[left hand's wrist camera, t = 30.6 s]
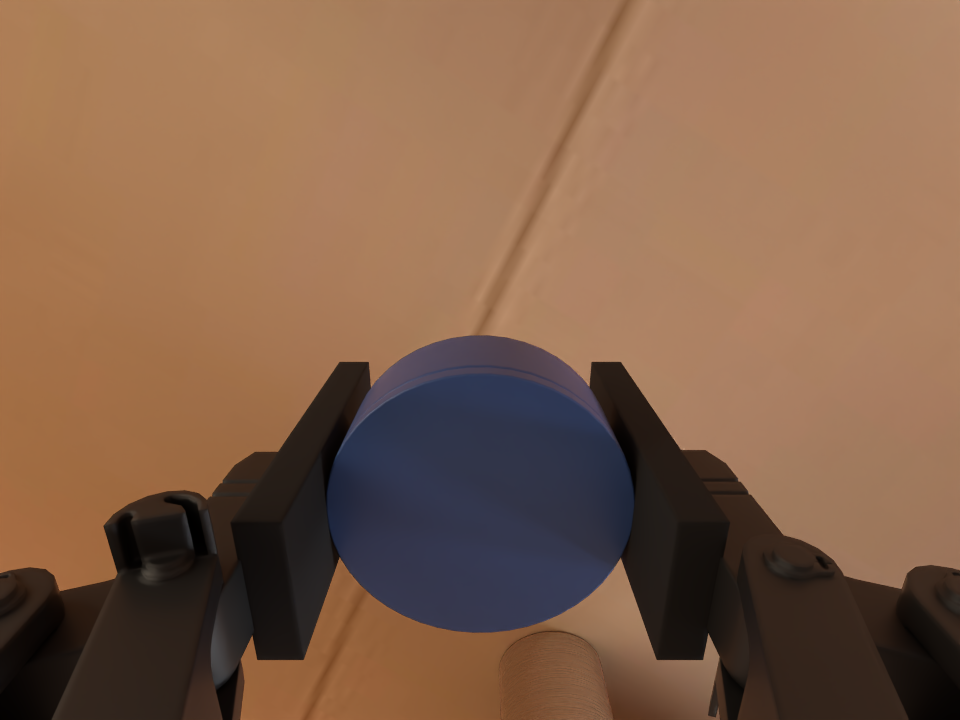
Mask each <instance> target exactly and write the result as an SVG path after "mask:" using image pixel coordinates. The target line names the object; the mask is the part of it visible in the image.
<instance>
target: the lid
mask: <svg viewBox="0 0 960 720" xmlns="http://www.w3.org/2000/svg"><path fill="white" fill-rule="evenodd" d="M634 503H635V494H634V485H633V480H632V476H631V471H630V469H629V466H628V463H627V461H626V458H625V455H624V453H623V451H622V449H621V447H620V445H619V443H618V441H617V439H616V437H615V435H614V432H613V430H612V428H611V426H610V424H609V422H608V420H607V418H606V416H605V414H604V412H603V410H602V408H601V406H600V404H599V402H598V400H597V398H596V397H595V395H594V393H593V391H592V390H591V389H590V388H589V386H588V385H587V384H586V382H585V381H584V380H583V379H582V378H581V377H580V376H579V375H578V374H577V373H576V372H575V371H574V370H573V369H572V368H571V367H570V366H568V365H567V364H566V363H564V362H563V361H562V360H560V359H559V358H557V357H556V356H554V355H552V354H550V353H548V352H547V351H545V350H543V349H541V348H539V347H536V346H533V345H531V344H528V343H526V342H522V341H518V340H514V339H510V338H505V337H496V336H464V337H457V338H450V339H447V340H443V341H439V342H435V343H432V344H430V345H427V346H425V347H423V348H420V349H418V350H416V351H414V352H412V353H410V354H409V355H407V356H405V357H403V358H402V359H400V360H399V361H398V362H397V363H395V364H394V365H393V366H391V367H390V368H389V369H388V370H387V371H386V372H385V373H384V374H383V375H382V376H381V377H380V378H379V379H378V380H377V381H376V382H375V383H374V385H373V386H372V387H371V389H370V390H369V392H368V393H367V394H366V396H365V398H364V400H363V402H362V404H361V406H360V407H359V409H358V412H357V414H356V416H355V418H354V420H353V422H352V424H351V426H350V428H349V430H348V432H347V434H346V436H345V438H344V440H343V443H342V445H341V447H340V449H339V451H338V453H337V455H336V457H335V460H334V463H333V465H332V468H331V471H330V474H329V479H328V485H327V490H326V508H327V516H328V524H329V530H330V533H331V537H332V540H333V543H334V545H335V547H336V550H337V552H338V554H339V556H340V558H341V560H342V561H343V563H344V564H345V566H346V567H347V569H348V570H349V572H350V573H351V574H352V575H353V577H354V578H355V579H356V580H357V581H358V583H359V584H360V585H361V586H362V587H363V588H364V589H366V590H367V591H368V592H369V593H370V594H371V595H372V596H373V597H375V598H376V599H377V600H379V601H380V602H382V603H383V604H384V605H386V606H387V607H389V608H391V609H393V610H394V611H396V612H398V613H400V614H402V615H404V616H406V617H408V618H411V619H413V620H415V621H418V622H420V623H424V624H427V625H430V626H434V627H437V628H442V629H447V630H453V631H461V632H472V633H479V632H499V631H509V630H514V629H518V628H523V627H528V626H531V625H534V624H537V623H540V622H543V621H546V620H548V619H550V618H553V617H555V616H557V615H559V614H561V613H563V612H565V611H567V610H568V609H570V608H572V607H573V606H575V605H577V604H578V603H579V602H581V601H582V600H583V599H585V598H586V597H587V596H589V595H590V594H591V593H592V592H593V591H594V590H595V589H596V588H597V587H598V586H600V585H601V584H602V583H603V581H604V580H605V579H606V578H607V577H608V575H609V574H610V573H611V572H612V570H613V569H614V567H615V566H616V564H617V562H618V561H619V559H620V558H621V556H622V554H623V552H624V549H625V547H626V545H627V542H628V540H629V537H630V533H631V528H632V520H633V512H634Z"/></svg>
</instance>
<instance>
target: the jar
mask: <svg viewBox="0 0 960 720" xmlns="http://www.w3.org/2000/svg"><path fill="white" fill-rule="evenodd" d="M499 679H500V708H501V720H614V719H613V714H612V710H611V706H610V701H609V697H608V693H607V688H606V684H605V680H604V676H603V671H602V667H601V663H600V659H599V656H598V654H597V653H596V651H595V650H594V649H593V647H592V646H591V645H590V644H589V643H587V642H586V641H584V640H583V639H581V638H579V637H577V636H574V635H572V634H568V633H563V632H541V633H536V634H532V635H529V636H527V637H524V638H522V639H520V640H519V641H517V642H516V643H514V644H513V645H512V646H511V647H510V648H509V649H508V650H507V651H506V652H505V654H504V655H503V657H502V659H501V662H500V667H499Z"/></svg>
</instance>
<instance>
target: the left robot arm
mask: <svg viewBox="0 0 960 720" xmlns="http://www.w3.org/2000/svg"><path fill="white" fill-rule="evenodd" d="M370 389H371V385H370V372H369V362H339V364H338V365H337V367H336V368H335V370H334V371H333V373H332V374H331V375H330V377H329V378H328V380H327V381H326V383H325V384H324V386H323V387H322V389H321V390H320V392H319V393H318V394H317V396H316V397H315V399H314V400H313V402H312V403H311V405H310V406H309V408H308V409H307V411H306V412H305V413H304V415H303V416H302V418H301V419H300V421H299V422H298V424H297V425H296V427H295V428H294V430H293V431H292V432H291V434H290V435H289V437H288V438H287V440H286V441H285V443H284V444H283V446H282V447H281V449H280V450H279V452H254V453H253V454H251V455H250V456H248V457H247V458H245V459H244V460H242V461H241V462H239V463H237V464H236V465H235V466H234V467H233V468H232V469H231V471H230V472H229V473H228V475H227V476H226V477H225V478H224V480H223V483H222V484H220V485H219V486H218V487H217V488H216V490H215V491H214V492H213V495H212V497H209V498H208V500H206V499H205V498H204V497H203V496H201V495H200V494H199V493H195V492H190V491H185V490H184V491H167V492H163V493H159V494H155V495H150V496H147V497H145V498H142V499H140V500H138V501H135V502H133V503H130V504H128V505H127V506H125V507H124V508H122V509H121V510H119V511H118V512H116V513H115V514H113V516H112V517H111V518H110V519H109V520H108V521H107V522H106V524H105V525H104V529H105V533H106V536H107V539H108V543H109V546H110V549H111V553H112V556H113V559H114V563H115V566H116V569H117V573H118V574H117V576H116V578H115V579H112V580H109V581H105V582H101V583H96V584H92V585H87V586H82V587H78V588H73V589H69V590H64V591H59V588H58V586H57V583H56V580H55V577H54V575H52V574H51V573H50V572H48V571H47V570H46V569H39V568H23V569H17V570H10V571H7V572H3V573H0V720H240V716H241V707H242V699H243V690H244V674H243V668H242V663H241V657H242V655H243V653H244V651H245V649H246V647H247V645H248V643H249V641H250V639H251V636H252V635H253V640H254V645H255V650H256V655H257V660H304V657H305V654H306V651H307V649H308V646H309V643H310V640H311V637H312V634H313V632H314V629H315V626H316V623H317V620H318V617H319V614H320V612H321V609H322V606H323V603H324V600H325V597H326V594H327V592H328V589H329V586H330V583H331V580H332V577H333V574H334V572H335V569H336V566H337V563H338V560H339V557H340V556H339V554H338V552H337V550H336V547H335V545H334V543H333V540H332V537H331V533H330V530H329V524H328V516H327V508H326V490H327V485H328V479H329V474H330V471H331V468H332V465H333V463H334V460H335V457H336V455H337V453H338V451H339V449H340V447H341V445H342V443H343V440H344V438H345V436H346V434H347V432H348V430H349V428H350V426H351V424H352V422H353V420H354V418H355V416H356V414H357V412H358V409H359V407H360V406H361V404H362V402H363V400H364V398H365V396H366V394H367V393H368V392H369V390H370ZM590 389H591V390H592V391H593V393H594V395H595V397H596V398H597V400H598V402H599V404H600V406H601V408H602V410H603V412H604V414H605V416H606V418H607V420H608V422H609V424H610V426H611V428H612V430H613V432H614V435H615V437H616V439H617V441H618V443H619V445H620V447H621V449H622V451H623V453H624V455H625V458H626V461H627V463H628V466H629V469H630V471H631V476H632V480H633V485H634V494H635V503H634V512H633V520H632V528H631V533H630V537H629V540H628V542H627V545H626V547H625V549H624V552H623V554H622V556H621V559H622V562H623V565H624V568H625V571H626V574H627V576H628V579H629V582H630V585H631V588H632V591H633V593H634V596H635V599H636V602H637V605H638V608H639V611H640V613H641V616H642V619H643V622H644V625H645V628H646V631H647V633H648V636H649V639H650V642H651V645H652V648H653V651H654V653H655V656H656V659H657V660H703V657H704V652H705V647H706V642H707V637H708V633H709V635H710V637H711V639H712V641H713V643H714V646H715V648H716V650H717V652H718V654H719V656H720V658H719V663H718V668H717V673H716V677H715V682H714V687H713V691H712V696H711V701H710V707H709V714H708V716H712V717H716V714H717V710H718V706H719V715H720V720H960V570H956V569H953V568H947V567H940V566H934V565H928V566H919V567H915V568H914V569H912V570H911V571H910V572H908V573H907V576H906V578H905V581H904V584H903V587H902V589H898V588H894V587H889V586H884V585H880V584H875V583H870V582H866V581H861V580H857V579H853V578H849V577H846V576H844V575H843V573H842V571H841V570H840V569H839V567H838V566H837V564H836V563H835V562H834V560H833V559H831V558H830V557H829V556H827V555H826V554H825V553H823V552H822V551H821V550H819V549H818V548H816V547H814V546H812V545H810V544H808V543H805V542H803V541H801V540H798V539H795V538H791V537H787V536H784V535H783V534H782V533H781V532H780V531H779V529H778V528H777V527H776V526H775V524H774V523H773V522H772V521H771V519H770V518H769V517H768V516H767V514H766V513H765V512H764V511H763V509H762V508H761V507H760V506H759V504H758V503H757V502H756V501H755V499H754V498H753V497H752V496H751V495H749V494H748V491H747V489H746V488H745V487H744V486H743V484H742V483H741V482H738V478H737V477H736V476H735V474H734V473H733V472H732V471H731V469H730V468H729V467H728V466H727V464H726V463H724V462H723V461H721V460H720V459H718V458H717V457H715V456H714V455H712V454H710V453H709V452H707V451H706V450H680V448H679V447H678V445H677V444H676V442H675V441H674V439H673V438H672V436H671V435H670V433H669V432H668V431H667V429H666V428H665V426H664V425H663V423H662V422H661V420H660V419H659V417H658V416H657V414H656V413H655V411H654V410H653V409H652V407H651V406H650V404H649V403H648V401H647V400H646V398H645V397H644V395H643V394H642V392H641V391H640V390H639V388H638V387H637V385H636V384H635V382H634V381H633V379H632V378H631V376H630V375H629V373H628V372H627V371H626V369H625V368H624V366H623V365H622V363H621V362H592V364H591V376H590Z"/></svg>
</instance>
